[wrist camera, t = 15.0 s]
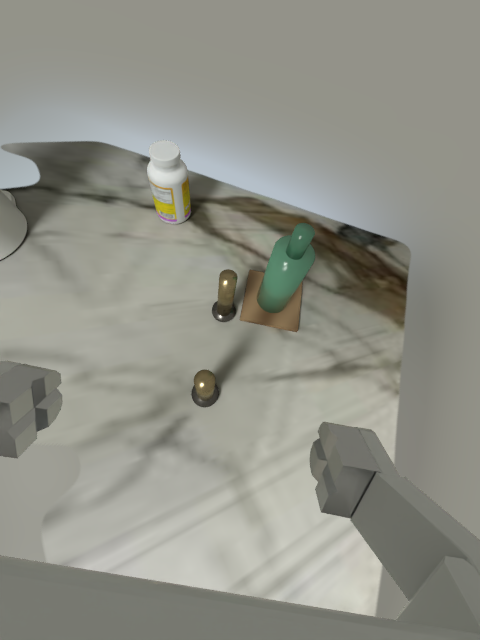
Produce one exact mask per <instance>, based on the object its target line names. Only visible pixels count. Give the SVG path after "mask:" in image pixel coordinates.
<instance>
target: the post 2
mask: <svg viewBox="0 0 480 640" xmlns="http://www.w3.org/2000/svg"><path fill="white" fill-rule="evenodd" d="M236 283H237V274H236V273H235V272H234V271H232V270H224V271H222V272H221V273H220V277H219V290H218V301H217V302H215V303H214V305H213V307H212V314H213V316H214V318H215V319H216V320H218V321H220V322H228V321H230V320H232V319H233V317H234V316H235V312H236V309H235V306H234V304H233V298H234V293H235V288H236Z"/></svg>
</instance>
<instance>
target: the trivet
mask: <svg viewBox="0 0 480 640" xmlns="http://www.w3.org/2000/svg"><path fill="white" fill-rule="evenodd" d="M263 276H264V273H263V272H259V271H254V270H250V271H249V275H248V280H247V286H246V291H245V296H244V301H243V306H242V311H241V316H240V320H241V321H246V322H251V323H256V324H260V325H265V326H270V327H275V328H279V329H284V330H289V331H294V332H297V331H298V324H299V313H300V303H301V292H302V282H301V283H300V285H299V287H298V288H297V290H296V292H295V293H294V295H293V296H292V298H291V300H290V301H289V303H288V304H287V306H286V308H285V309H284V310H283V311H281V312H279V313H269V312H266V311H264V310H263V309H262V308H261V307H260V306H259V304H258V302H257V293H258V290H259V287H260V285H261V282H262V279H263Z"/></svg>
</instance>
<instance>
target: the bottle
mask: <svg viewBox="0 0 480 640" xmlns="http://www.w3.org/2000/svg"><path fill="white" fill-rule="evenodd" d="M314 234H315V231H314V229H313V227H312V226H310V225H309V224H306V223H300V224H298V225H297V226H296V227H295V229H294V232H293V234H292V236H284V237H282V238H280V239H279V240H278V241H277V242H276V243H275V246H274V248H273V251H272V254H271V257H270V259H269V262H268V265H267V268H266V271H265V273H264V276H263V279H262V282H261V285H260V287H259V290H258V293H257V302H258V304H259V306H260V307H261V308H262V309H263V310H264V311H266V312H269V313H279V312H281V311H283V310H284V309H285V308H286V306H287V304H288V303H289V301H290V300H291V298H292V296H293V295H294V293H295V292H296V290H297V288H298V287H299V285H300V283H301V282H302V280H303V279H304V277H305V275H306V274H307V272H308V271H309V269H310V267H311V266H312V264H313V262H314V260H315V252H314V249H313V247H312V246H311V244H310V242H311V240H312V238H313V236H314Z"/></svg>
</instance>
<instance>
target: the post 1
mask: <svg viewBox="0 0 480 640" xmlns="http://www.w3.org/2000/svg"><path fill="white" fill-rule="evenodd" d="M194 384H195V385H194V387H193V389H192V398H193V401H194V402H195V403H196V404H197V405H198V406H200V407H209V406H211V405H213V404H214V403H215V402H216V400H217V398H218V395H219V390H218V387H217V385H216V384H215V376H214V374H213V373H212V372H211V371H209V370H201V371H199V372H198V373H197V374H196V375H195V377H194Z"/></svg>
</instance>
